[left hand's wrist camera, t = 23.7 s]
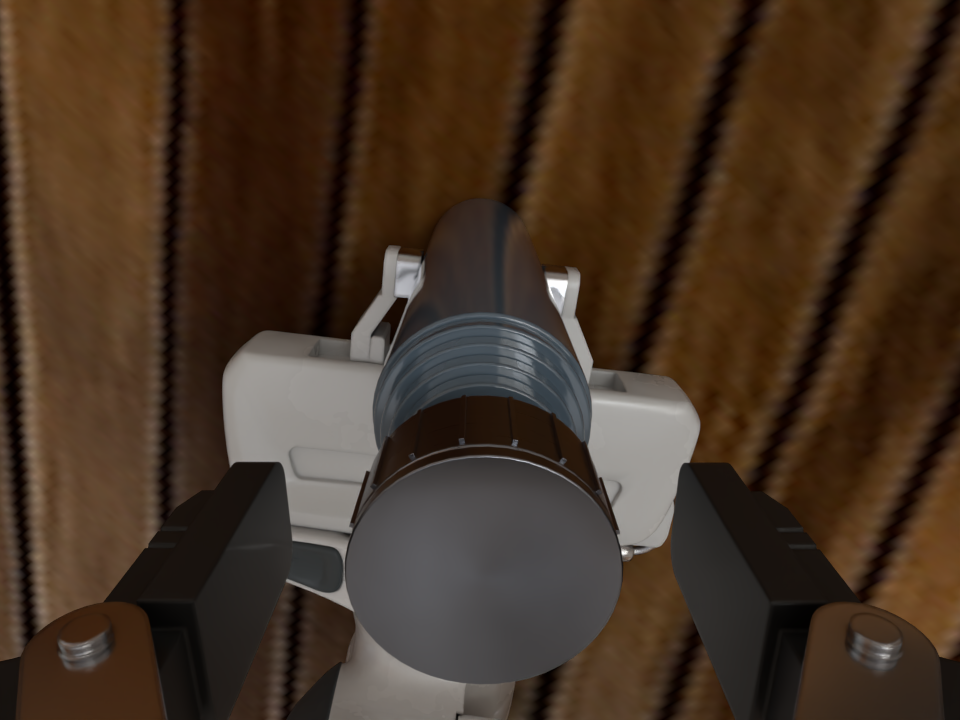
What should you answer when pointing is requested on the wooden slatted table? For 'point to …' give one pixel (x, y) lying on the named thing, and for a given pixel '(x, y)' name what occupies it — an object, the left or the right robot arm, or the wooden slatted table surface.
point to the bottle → (481, 326)
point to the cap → (483, 543)
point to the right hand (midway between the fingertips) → (482, 258)
